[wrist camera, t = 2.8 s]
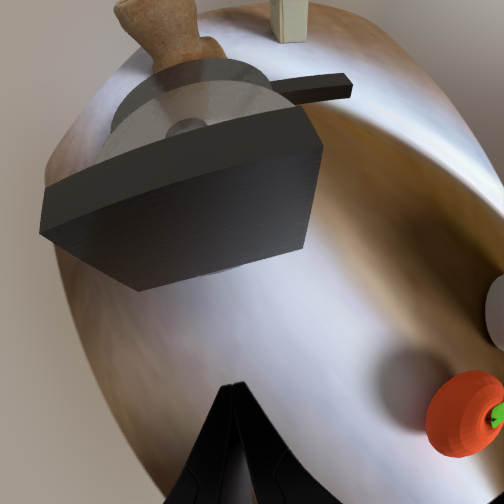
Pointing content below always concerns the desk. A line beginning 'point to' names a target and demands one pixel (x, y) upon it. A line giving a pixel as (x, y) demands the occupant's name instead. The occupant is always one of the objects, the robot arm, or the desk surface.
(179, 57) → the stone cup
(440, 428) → the clementine
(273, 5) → the skincare box
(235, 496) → the robot arm
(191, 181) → the lid
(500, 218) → the desk surface
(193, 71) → the pot
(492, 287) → the can
